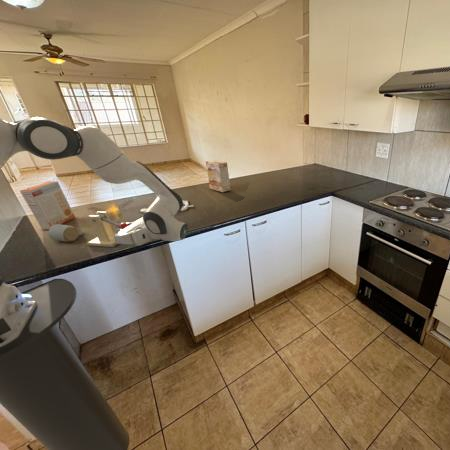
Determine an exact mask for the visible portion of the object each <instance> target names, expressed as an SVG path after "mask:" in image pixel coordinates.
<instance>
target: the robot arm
mask: <svg viewBox="0 0 450 450" xmlns="http://www.w3.org/2000/svg"><path fill="white" fill-rule="evenodd" d="M21 152H22V153H23V152H28V153H30V154H32V155H33V156H35V157H38V158H41V159H44V160H50V161H51V160H53V161H54V160H63V159H67V158H72V157H77V158H79V160H81V161H83V163H85V164H86V165H87V167H88V168H89V169H90V170H91V171H92V172H93V173H94V174H95V175H96V176H97V177H98V178H99V179H101V180H102V181H104V182H106V183H109V184H112V185H113V184H114V185H120V184H121V185H122V184H125V183H129V182H133V181H139V182H141V183H142V184H144V185H145V186H146V187H147V188H148V189H149V190H150V191H152V193H154V194H155V199H154V200H153V201H152V203H151V204H150V205H149V207H148V209H147V210H146V211H145V212H143V213H142V215H143V217H141V218H139V219H137V220H135V221H131V222H125V223H126V224H128V227H126V228H125V229H123V230H122V228H119V227H117V228H116V229H115V233H116V234H115V235H114V239H115V241H116V243H117V245H125V246H131V245H135V246H137V247H139V246H143V245H144V244H147V243H149V242H153V241H159V240H161V241H164V242H179V241H183V240H184V239H185V238H186V236H187V235H188V231H189V226H188V224H187V222H182V221H179V220H178V219H176V218H175V216H176V215H177V214H178V213H179V212H180V210H181V209H182V207H183V206H184V204H183V201H184V200H183V199H182V197H181V195H180V194H179V193H178V192H176V191H175V190H173V189H172V188H170V187H169V186H168V185H167V184H166V183H165V182H164V181H163V180H162V179H161V178H160V177H159V176H158V175H157V174H155V172H153V170H151V169H150V168H149V167H148V166H146V165H145V164H144V163H142V162H141V161H139V160H133V159H132V158H130V157H129V156H128V155H127V154H126V153H125V152H124V151H123V150H122V148H121V147H120V146H119V145H118V144H117V143H116V142H115V141H114V140H113V139H111V138H110V136H108V135H107V134H106V133H105V132H103V131H102V130H101V129H100V128H98V127H96V126H92V125H85V126H80V127H78V128H76V129H73V128H72V127H69V126H67V125H65V124H63V123H60V122H58V121H56V120H54V119H52V118H48V117H44V116H33V117H27V118H25V119H20V120H16V121H13V122H10V121H6V120H5V119H3V118H1V117H0V170H2V168H3V167H4V166H5V165H6V164H7V162H8V161H9V160H10V159H11V158H12V157H13V156H15V155H16V154H18V153H21ZM182 200H183V201H182ZM21 293H22V292H21V291H20V290H19V289H18V288H17V287H16V286H15V285H13V284H12V285H10V284H8V283H5V282H4V280H3V278H2V276H1V275H0V347H2V346H4V345H6V344H8V343H9V342H11V341H13V340H14V339H16V338H17V337H18V336H19V335H20V333H21V332H22V330H23V328H24V326H25V325H26V323H27V321H28V319H29V318H30V316H31V314H32V312H33V311H34V309H35V307H36V306H37V303H36V302H35V301H27V300H26V298H25V297H31V295H26V294H21Z"/></svg>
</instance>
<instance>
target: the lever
mask: <svg viewBox="0 0 450 450" xmlns="http://www.w3.org/2000/svg"><path fill="white" fill-rule="evenodd" d="M95 215H97V216H100V218H101V221H105V222H108V223H110V224H112V225H113V226H116V227H117V228H122V230H123V229H125V228H126V227H128V224H126V223H127V222H121V223H119V222H116V221H115V220H112V219H110V220H109V219H106V218H105V217H104V215H102V214H99V213H98V214H97V213H96V214H95Z"/></svg>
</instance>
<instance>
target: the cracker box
mask: <svg viewBox="0 0 450 450" xmlns="http://www.w3.org/2000/svg"><path fill="white" fill-rule="evenodd" d="M19 192H20V195H21V196H22V197H23V199H24V201H25V203H26V204H27V206H28V208H29V210H30V211H31V213H32V215H33V216H34V218H35V220H36V222H37V223H38V225H39V226H40V228H41V230H49V229H50V228H51V227H52V226H53V225H56V224H62V225H65V224H66V223H68V222H71V221H72V220H74V219H76V215H75V214H74V212H73V210H72V207H71V206H70V205H71V204H70V203H69V201H68V200H67V197H66V196H65V193H64V191H63V190H62V187H61V185H60V183H59V182H58V181H56V180H55V181H49V180H48V181H44V182H42V183H38V184H35V185H33V186H29V187H27V188H24V189H23V188H22V189H20V190H19Z"/></svg>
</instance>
